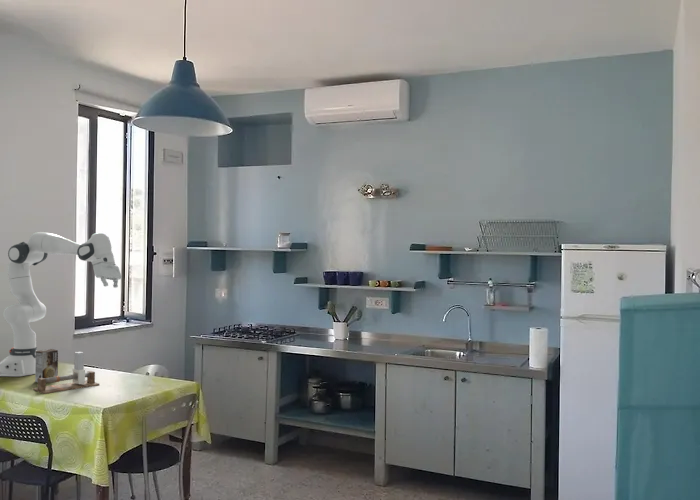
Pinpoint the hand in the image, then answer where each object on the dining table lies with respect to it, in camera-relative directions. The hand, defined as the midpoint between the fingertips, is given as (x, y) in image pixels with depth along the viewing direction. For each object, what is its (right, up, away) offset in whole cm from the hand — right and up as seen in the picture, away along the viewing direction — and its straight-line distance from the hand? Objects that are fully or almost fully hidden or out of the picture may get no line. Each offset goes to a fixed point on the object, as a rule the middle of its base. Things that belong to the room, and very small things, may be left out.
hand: (111, 286), depth 337 cm
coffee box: (-34, -50, -1) cm, 60 cm away
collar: (-13, -48, -10) cm, 51 cm away
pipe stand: (-17, -50, -15) cm, 54 cm away
